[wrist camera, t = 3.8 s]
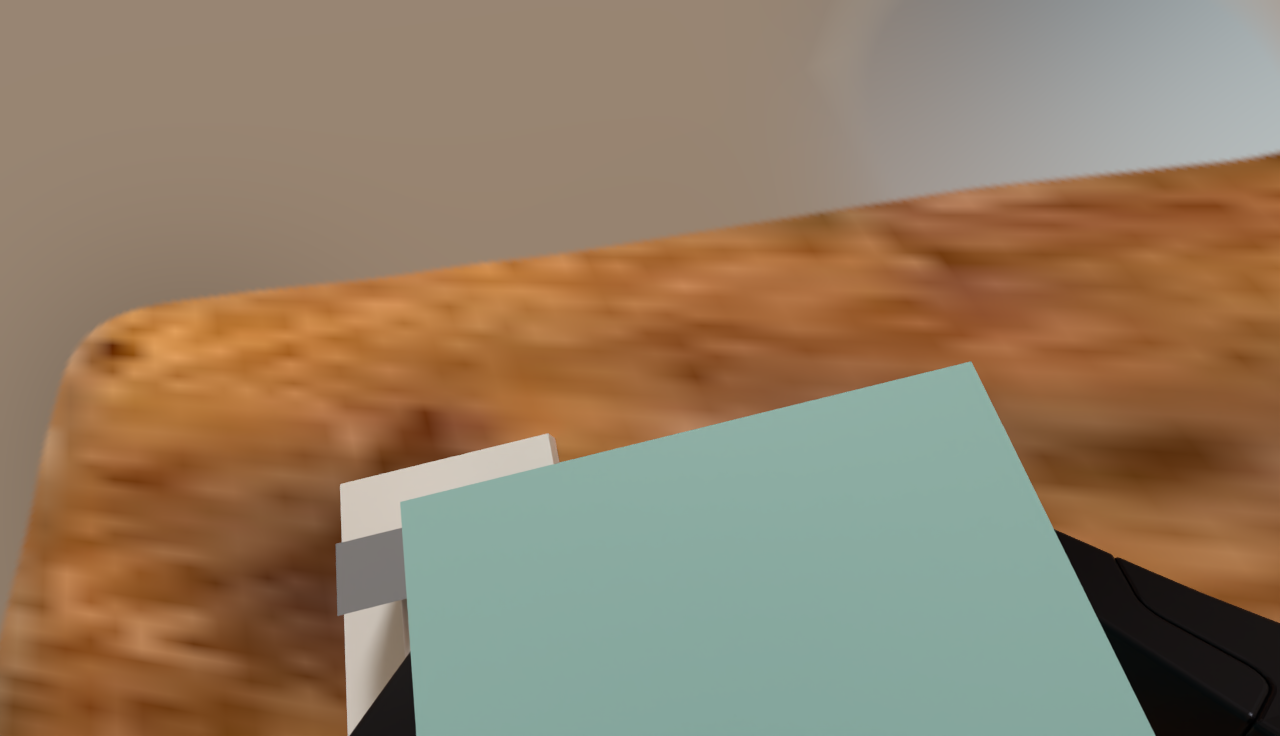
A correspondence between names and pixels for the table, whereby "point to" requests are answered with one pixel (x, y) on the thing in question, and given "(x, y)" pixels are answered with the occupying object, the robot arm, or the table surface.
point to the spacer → (764, 585)
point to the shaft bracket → (399, 556)
